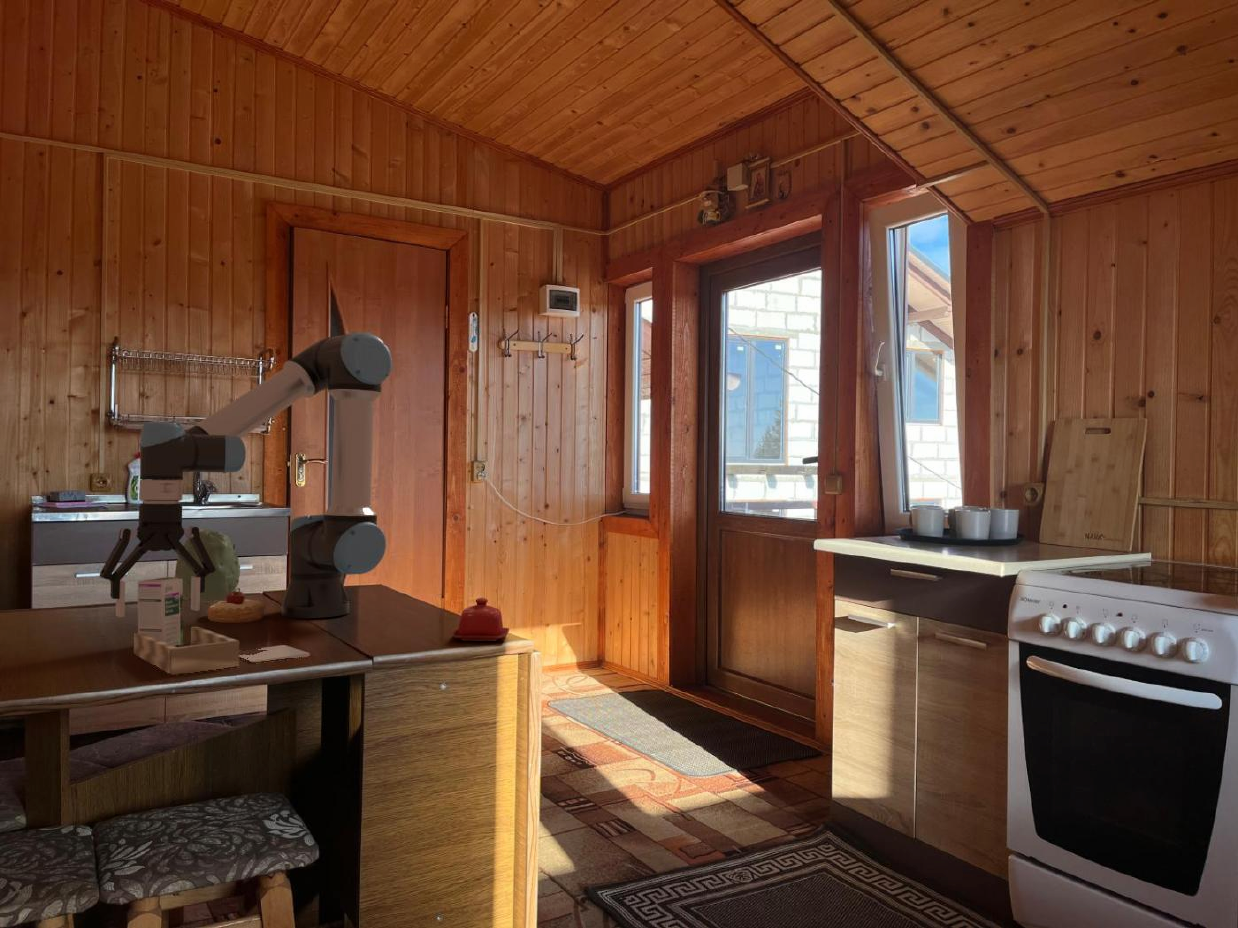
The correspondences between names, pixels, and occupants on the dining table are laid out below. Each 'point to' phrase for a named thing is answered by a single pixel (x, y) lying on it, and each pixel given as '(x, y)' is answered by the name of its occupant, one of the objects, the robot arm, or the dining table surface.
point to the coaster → (275, 654)
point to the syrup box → (161, 609)
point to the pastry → (236, 609)
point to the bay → (189, 652)
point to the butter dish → (481, 623)
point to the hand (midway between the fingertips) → (158, 613)
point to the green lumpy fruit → (223, 562)
